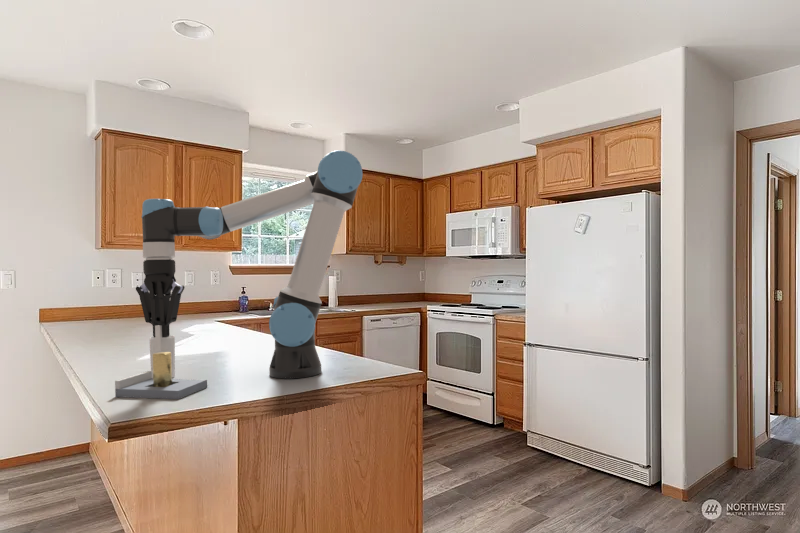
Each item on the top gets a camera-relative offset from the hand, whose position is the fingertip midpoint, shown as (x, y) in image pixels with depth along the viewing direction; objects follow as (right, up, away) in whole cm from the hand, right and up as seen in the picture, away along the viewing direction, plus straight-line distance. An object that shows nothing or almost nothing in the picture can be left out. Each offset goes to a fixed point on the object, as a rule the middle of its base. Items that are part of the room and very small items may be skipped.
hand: (161, 349), depth 132 cm
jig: (0, -11, 0) cm, 11 cm away
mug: (-8, -11, +19) cm, 24 cm away
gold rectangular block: (0, -11, 0) cm, 11 cm away
